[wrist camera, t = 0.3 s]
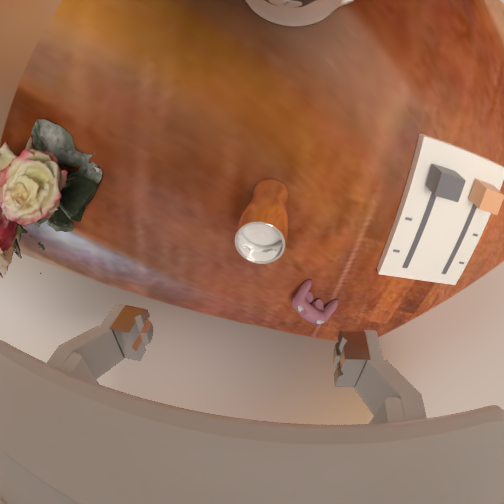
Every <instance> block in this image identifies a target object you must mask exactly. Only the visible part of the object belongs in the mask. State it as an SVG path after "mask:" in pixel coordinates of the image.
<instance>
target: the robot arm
mask: <svg viewBox="0 0 504 504" xmlns="http://www.w3.org/2000/svg"><path fill="white" fill-rule="evenodd" d="M245 1H246V2H247V4H248V5H249V6H250V8H251V9H252V10H253V11H254V12H255V13H257V14H258V15H259V16H261V17H262V18H264V19H266V20H268V21H270V22H273V23H276V24H279V25H284V26H305V25H310V24H314V23H316V22H319V21H321V20H323V19H325V18H326V17H327V16H329V15H330V14H331V13H332V12H333V11H334V10H335V9H336V8H338V7H339V6H343V5H346V4H349V3H351V2H353V1H354V0H245ZM148 318H149V312H148V310H146V309H142V308H137V307H133V306H127V305H122V304H117V305H115V306H114V308H113V309H112V310H111V312H110V313H109V314H108V316H107V317H106V318H105V320H104V321H103V323H102V324H101V325H100V326H96V327H94V328H92V329H90V330H88V331H87V332H84V333H83V334H81V335H79V336H77V337H75V338H73V339H71V340H69V341H67V342H65V343H63V344H61V345H59V346H58V348H57V349H56V351H55V352H54V353H53V355H52V356H51V358H50V359H49V361H48V362H47V363H45V362H43V361H41V360H39V359H36V358H35V357H32V356H30V355H29V354H27V353H24V352H23V351H21V350H19V349H17V348H15V347H13V346H11V345H10V344H8V343H6V342H4V341H1V340H0V504H504V410H503V409H501V408H500V407H498V406H496V405H492V406H487V407H483V408H479V409H475V410H470V411H466V412H461V413H456V414H451V415H445V416H440V417H434V418H426V413H425V409H424V404H423V400H422V396H421V394H420V393H419V392H418V391H417V390H416V389H415V388H414V387H413V386H412V385H411V384H410V383H409V382H408V381H407V380H406V379H405V378H404V377H403V376H402V375H401V374H400V373H399V372H398V371H397V370H396V369H395V368H394V367H393V366H392V365H391V364H390V363H389V362H388V361H387V360H383V356H382V352H381V348H380V344H379V339H378V335H377V332H376V331H375V330H364V331H363V330H340V331H339V334H338V342H337V343H336V345H335V349H334V356H333V364H334V366H335V367H336V370H335V373H334V380H335V387H355V390H356V391H357V393H358V394H359V395H360V397H361V398H362V400H363V401H364V403H365V404H366V405H367V407H368V408H369V410H370V411H371V412H372V414H373V415H374V417H373V419H372V420H371V422H370V423H369V424H361V425H360V424H358V425H312V424H291V423H278V422H267V421H257V420H248V419H241V418H233V417H227V416H221V415H215V414H209V413H203V412H198V411H193V410H188V409H184V408H179V407H175V406H171V405H166V404H162V403H158V402H155V401H151V400H147V399H143V398H140V397H136V396H133V395H130V394H126V393H123V392H120V391H117V390H114V389H111V388H108V387H105V386H102V385H99V383H98V382H97V380H96V379H97V378H98V377H100V376H101V375H103V374H104V373H105V372H107V371H108V370H110V369H111V368H112V367H113V366H115V365H116V364H118V363H119V362H120V361H121V360H123V359H124V358H128V359H133V360H138V361H141V359H142V357H143V355H144V353H145V351H146V349H145V346H146V345H147V344H149V343H150V341H151V339H152V336H153V326H152V323H151V322H150V321H149V320H148Z"/></svg>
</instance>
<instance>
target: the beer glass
mask: <svg viewBox="0 0 504 504" xmlns="http://www.w3.org/2000/svg"><path fill="white" fill-rule="evenodd" d="M288 197H289V194H288V190H287V188H286V187H285V185H284V184H283V183H281V182H280V181H278V180H275V179H266V180H263V181H261V182H259V183H258V184H257V185H256V187H255V188H254V191H253V200H252V201H251V202H250V203H249V204H248V205H247V207H246V208H245V210H244V211H243V213H242V215H241V218H240V220H239V224H238V228H237V232H236V236H235V246H236V249H237V251H238V252H239V253H240V255H241V256H242V257H244V258H245V259H246V260H248V261H250V262H253V263H258V264H266V263H271V262H273V261H275V260H277V259H278V258H279V257H280V256H281V255H282V254H283V252H284V249H285V244H286V240H287V236H288V225H289V222H288V215H287V211H286V207H285V206H286V204H287V202H288Z"/></svg>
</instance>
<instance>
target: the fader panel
mask: <svg viewBox="0 0 504 504" xmlns="http://www.w3.org/2000/svg"><path fill="white" fill-rule="evenodd" d="M432 164H435V165H438V166H441V167H445V168H448V169H451V170H453V171H456V172H457V173H458V174H459V175H460V176H461V177H463V178H464V179H465V180H466V182H465V185H464V187H463V190H462V193H461V196H460V199H459V201H458V202H455V201H451V200H448V199H445V198H441V197H437V196H434V195H433V193H432V192H431V191H430V190H429V189H428V188H427V186H426V182H427V179H428V176H429V173H430V169H431V166H432ZM475 179H478V180H481V181H484V182H486V183H489V184H491V185H494V186H495V187H496V188H497V189H498V190H499V191H500V188H501V186H502V183H503V180H504V167H503V166H502V165H500V164H498V163H496V162H494V161H492V160H489V159H487V158H485V157H483V156H480V155H478V154H476V153H473V152H471V151H468V150H466V149H463V148H461V147H458V146H456V145H453V144H450V143H447V142H445V141H442V140H439V139H436V138H433V137H430V136H427V135H424V134H421V133H420V134H419V138H418V142H417V146H416V150H415V154H414V158H413V162H412V165H411V169H410V173H409V176H408V179H407V183H406V186H405V189H404V193H403V196H402V199H401V202H400V205H399V208H398V211H397V214H396V217H395V220H394V223H393V226H392V229H391V232H390V234H389V237H388V240H387V243H386V245H385V248H384V250H383V253H382V256H381V258H380V261H379V263H378V266H377V271H378V274H381V275H388V276H395V277H402V278H409V279H416V280H423V281H430V282H437V283H444V284H451V285H455V284H456V283H457V281H458V279H459V277H460V276H461V274H462V272H463V270H464V268H465V267H466V265H467V263H468V261H469V259H470V257H471V255H472V253H473V251H474V249H475V247H476V245H477V243H478V241H479V239H480V237H481V235H482V232H483V230H484V228H485V226H486V223H487V221H488V219H489V217H490V214H491V213H489V212H487V211H484V210H480V209H478V208H477V206H476V205H475V204H474V203H473V202H472V201H471V200H470V199H469V196H470V194H471V191H472V188H473V185H474V182H475Z"/></svg>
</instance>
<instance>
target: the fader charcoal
mask: <svg viewBox="0 0 504 504" xmlns="http://www.w3.org/2000/svg"><path fill="white" fill-rule="evenodd" d="M465 182H466V180H465V179H464V178H463V177H461V176H460V175H459V174H458V173H457V172H456V171H453V170H451V169H448V168H445V167H441V166H438V165H435V164H432V166H431V169H430V173H429V176H428V179H427V182H426V186H427V188H428V189H429V190H430V191H431V192H432V193H433V195H434V196H437V197H441V198H445V199H448V200H451V201H455V202H458V201H459V199H460V196H461V193H462V190H463V187H464V185H465Z"/></svg>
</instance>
